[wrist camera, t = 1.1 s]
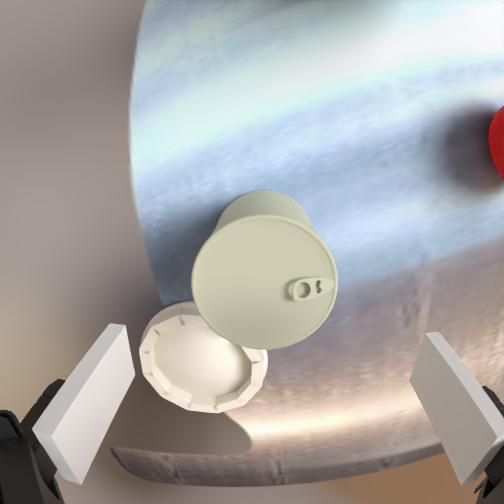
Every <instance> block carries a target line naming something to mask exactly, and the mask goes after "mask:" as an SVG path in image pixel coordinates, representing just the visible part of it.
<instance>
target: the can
mask: <svg viewBox="0 0 504 504" xmlns="http://www.w3.org/2000/svg"><path fill="white" fill-rule="evenodd" d="M337 288H338V275H337V268H336V264H335V261H334V258H333V256H332V254H331V252H330V250H329V248H328V247H327V245H326V244H325V243H324V241H323V240H322V239H321V238H320V237H319V236H318V235H317V233H316V232H315V230H314V229H313V227H312V226H311V223H310V220H309V218H308V216H307V214H306V213H305V211H304V210H303V208H302V207H301V206H300V205H299V204H298V203H297V202H296V201H294V200H293V199H292V198H290V197H288V196H286V195H284V194H282V193H279V192H275V191H268V190H259V191H253V192H249V193H246V194H244V195H242V196H240V197H238V198H236V199H235V200H234V201H232V202H231V203H230V204H229V205H228V206H227V207H226V208H225V210H224V211H223V212H222V214H221V216H220V218H219V220H218V223H217V226H216V228H215V230H214V231H213V233H212V234H211V236H210V237H209V238H208V239H207V240H206V242H205V243H204V244H203V246H202V247H201V249H200V250H199V252H198V254H197V256H196V259H195V262H194V265H193V269H192V274H191V289H192V296H193V299H194V303H195V305H196V308H197V310H198V312H199V314H200V315H201V317H202V318H203V320H204V321H205V322H206V324H207V325H208V326H209V327H210V328H211V329H212V330H213V331H214V332H216V333H217V334H218V335H219V336H221V337H222V338H224V339H226V340H227V341H229V342H232V343H234V344H236V345H239V346H242V347H246V348H251V349H260V350H269V349H278V348H283V347H287V346H289V345H292V344H295V343H297V342H299V341H301V340H303V339H305V338H306V337H308V336H309V335H311V334H312V333H313V332H314V331H315V330H317V329H318V328H319V327H320V326H321V324H322V323H323V322H324V321H325V319H326V318H327V317H328V315H329V313H330V311H331V309H332V307H333V305H334V302H335V299H336V295H337Z"/></svg>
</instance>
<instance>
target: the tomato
mask: <svg viewBox="0 0 504 504" xmlns="http://www.w3.org/2000/svg"><path fill="white" fill-rule="evenodd" d="M488 141H489V149H490V154H491V157H492V161H493V163H494V165H495V167H496V169H497V171H498V173H499V175H500V176H501V178H502V179H503V180H504V106H503V107H502V108H501V109H500V110H499V111H498V112H497V113H496V114H495V115H494V117H493V119H492V121H491V124H490V127H489V134H488Z"/></svg>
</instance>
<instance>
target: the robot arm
mask: <svg viewBox="0 0 504 504" xmlns="http://www.w3.org/2000/svg"><path fill="white" fill-rule="evenodd" d="M134 376H135V372H134V367H133V362H132V357H131V352H130V347H129V342H128V336H127V331H126V326H125V325H119V324H109V325H108V327H107V328H106V329H105V330H104V332H103V333H102V334H101V335H100V337H99V338H98V339H97V341H96V342H95V343H94V344H93V346H92V347H91V348H90V350H89V351H88V352H87V354H86V355H85V356H84V358H83V359H82V360H81V361H80V363H79V364H78V365H77V367H76V368H75V369H74V371H73V372H72V373H71V375H70V376H69V377H68V379H67V380H61V379H58V380H56V381H55V382H53V383H52V384H50V385H49V386H48V387H47V388H46V390H45V391H44V392H43V394H42V396H40V398H39V399H38V400H37V403H35V404H34V406H33V407H32V408H31V409H30V411H29V412H28V414H27V415H26V416H25V418H24V419H23V420H22V422H21V423H19V421H18V419H17V418H16V416H15V415H14V414H13V413H12V412H11V411H8V410H0V504H65V503H64V501H63V498H62V496H61V492H60V490H59V487H58V484H57V481H56V479H55V478H54V475H55V473H56V471H57V470H58V471H59V473H60V474H61V476H62V477H63V478H64V479H67V480H70V481H72V482H75V483H78V484H82V482H83V480H84V478H85V476H86V474H87V471H88V469H89V467H90V465H91V463H92V461H93V459H94V457H95V455H96V452H97V450H98V448H99V446H100V444H101V442H102V440H103V438H104V436H105V433H106V432H107V429H108V427H109V425H110V423H111V421H112V419H113V417H114V415H115V413H116V411H117V409H118V407H119V405H120V403H121V401H122V399H123V397H124V395H125V394H126V392H127V390H128V388H129V386H130V384H131V382H132V379H133V378H134ZM409 381H410V383H411V385H412V386H413V388H414V390H415V392H416V394H417V396H418V398H419V400H420V402H421V403H422V405H423V407H424V409H425V411H426V413H427V415H428V417H429V419H430V421H431V423H432V425H433V427H434V429H435V431H436V433H437V435H438V437H439V439H440V441H441V443H442V445H443V447H444V449H445V452H446V454H447V456H448V458H449V460H450V462H451V464H452V467H453V469H454V471H455V473H456V475H457V478H458V480H459V482H460V484H461V485H464V484H467V483H469V482H472V481H474V480H477V478H478V477H479V476H480V475H481V474H482V473H483V471H485V473H486V475H487V476H486V478H485V479H484V480H483V481H482V482H481V483H480V485H479V486H478V487H477V488H476V489H475V491H474V493H476V492H477V491H478V490H479V489H480V488H481V490H480V493H479V496H478V499H477V502H476V504H504V405H503V404H502V402H500V400H499V398H498V397H497V396H496V394H495V393H494V392H493V391H492V390H490V389H489V388H487V387H486V386H482V387H481V385H480V384H479V383H478V381H477V380H476V379H475V377H474V376H473V375H472V374H471V372H470V371H469V370H468V368H467V367H466V366H465V364H464V363H463V362H462V361H461V359H460V358H459V357H458V355H457V354H456V353H455V352H454V350H453V349H452V348H451V347H450V345H449V344H448V343H447V342H446V340H445V339H444V338H443V337H442V336H441V334H440V333H439V332H436V333H425V336H424V339H423V342H422V345H421V349H420V352H419V355H418V358H417V361H416V364H415V366H414V369H413V372H412V375H411V378H410V380H409Z"/></svg>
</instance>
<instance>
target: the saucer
mask: <svg viewBox="0 0 504 504" xmlns="http://www.w3.org/2000/svg"><path fill="white" fill-rule="evenodd" d="M139 354H140V359H141V365H142V371H143V375H144V376H145V378H146V379H147V380H148V381H149V382H150V384H151V385H152V386H153V387H154V388H155V390H156V391H157V392H158V393H159V394H160V396H162V397H163V398H165V399H167V400H169V401H171V402H173V403H175V404H177V405H179V406H181V407H183V408H185V409H187V410H192V411H202V412H210V413H217V412H218V413H220V412H223V411H227V410H230V409H233V408H236V407H240V406H243V405H245V404H246V403H247V402H248V401H249V400H250V399H251V397H252V396H253V395H254V394H255V393H256V392H257V391H258V390H259V389H260V388H261V387H262V381H263V379H264V377H265V374H266V371H267V365H268V356H267V350H260V349H251V348H246V347H242V346H239V345H236V344H234V343H232V342H229V341H227V340H226V339H224V338H222V337H221V336H219V335H218V334H217V333H216V332H214V331H213V330H212V329H211V328H210V327H209V326H208V325H207V324H206V322H205V321H204V320H203V318H202V317H201V315H200V314H199V312H198V310H197V308H196V305H195V303H194V300H190V301H183V302H178V303H175V304H172V305H170V306H167V307H166V308H164V309H162V310H161V311H159V312H158V313H157V314H156V315H155V316H154V317H153V318H152V319H151V320H150V322H149V324H148V325H147V327H146V328H145V331H144V333H143V336H142V340H141V346H140V348H139Z"/></svg>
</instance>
